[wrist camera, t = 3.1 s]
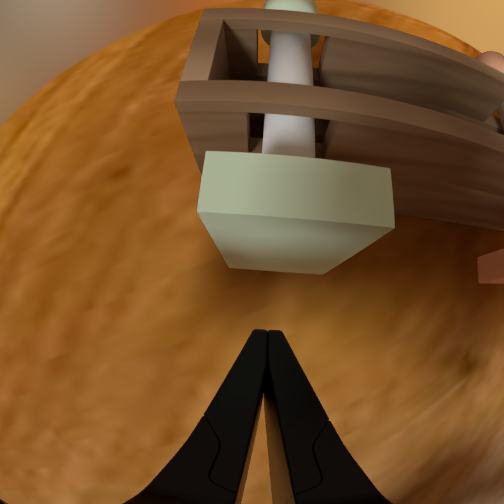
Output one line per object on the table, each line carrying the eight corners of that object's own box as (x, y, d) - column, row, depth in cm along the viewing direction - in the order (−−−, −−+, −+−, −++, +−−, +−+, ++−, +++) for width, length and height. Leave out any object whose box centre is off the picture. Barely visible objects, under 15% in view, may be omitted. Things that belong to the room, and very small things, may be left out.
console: (504, 231, 18) (588, 192, 9) (210, 198, 18) (174, 101, 9) (492, 162, 19) (559, 108, 10) (222, 117, 19) (204, 8, 10)
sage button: (323, 274, 14) (394, 227, 6) (228, 267, 14) (196, 211, 7) (319, 59, 17) (339, -39, 9) (252, 53, 17) (250, -48, 9)
